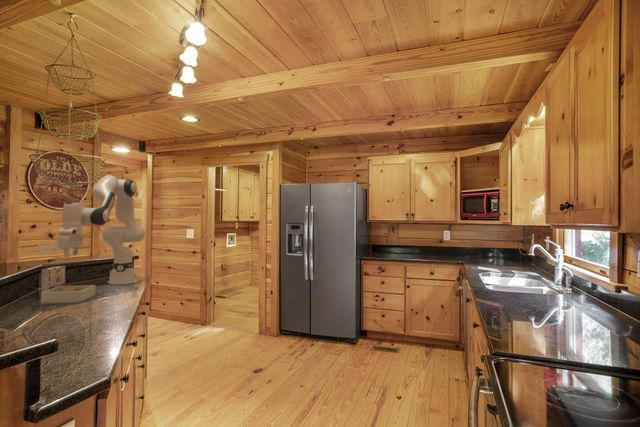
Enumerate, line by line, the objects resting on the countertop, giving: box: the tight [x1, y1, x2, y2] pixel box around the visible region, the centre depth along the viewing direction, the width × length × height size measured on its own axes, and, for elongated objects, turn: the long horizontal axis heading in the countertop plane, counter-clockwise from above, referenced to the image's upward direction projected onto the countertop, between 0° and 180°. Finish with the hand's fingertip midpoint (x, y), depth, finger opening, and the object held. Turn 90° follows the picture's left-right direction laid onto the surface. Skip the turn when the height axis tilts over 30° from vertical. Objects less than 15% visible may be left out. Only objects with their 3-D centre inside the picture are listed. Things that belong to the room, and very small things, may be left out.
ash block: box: [62, 288, 79, 292], centre depth 178 cm, size 4×6×5 cm
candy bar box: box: [40, 265, 67, 294], centre depth 185 cm, size 11×5×16 cm, turn 179°
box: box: [40, 284, 97, 306], centre depth 178 cm, size 18×18×6 cm
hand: (71, 256), depth 179 cm, fingers open, 8 cm apart
